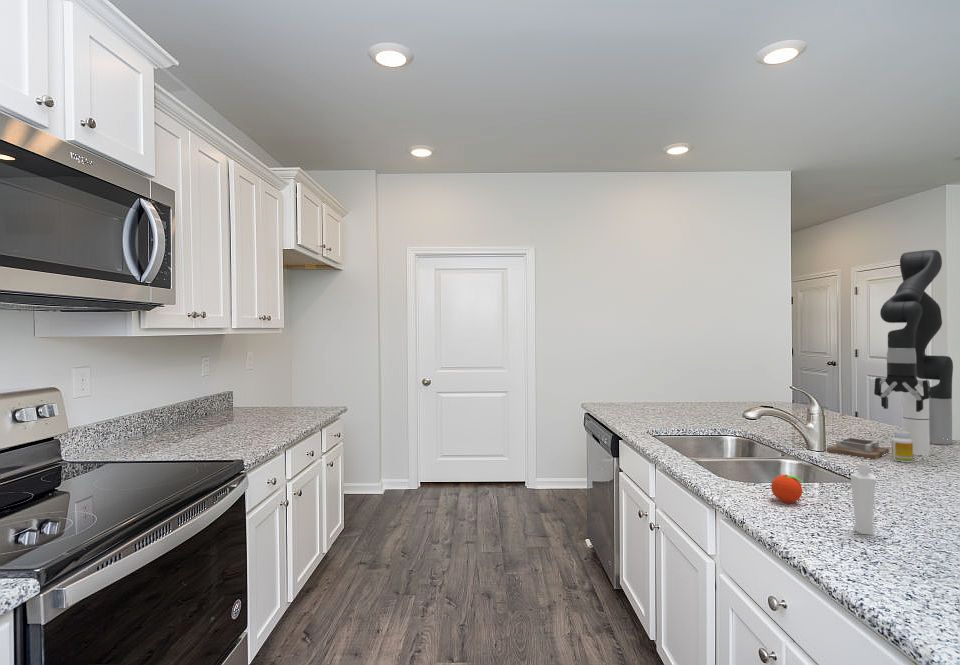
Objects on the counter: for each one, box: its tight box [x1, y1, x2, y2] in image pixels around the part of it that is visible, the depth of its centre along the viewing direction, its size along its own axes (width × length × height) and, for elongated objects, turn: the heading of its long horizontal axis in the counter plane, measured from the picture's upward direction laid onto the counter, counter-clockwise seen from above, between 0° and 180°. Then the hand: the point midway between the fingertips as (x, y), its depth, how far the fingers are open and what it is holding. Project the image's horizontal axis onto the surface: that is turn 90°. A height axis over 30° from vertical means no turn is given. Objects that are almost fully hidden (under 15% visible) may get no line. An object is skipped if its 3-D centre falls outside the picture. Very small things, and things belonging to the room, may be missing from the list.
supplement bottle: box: [891, 430, 914, 463], centre depth 167 cm, size 5×5×10 cm
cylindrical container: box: [901, 384, 931, 456], centre depth 176 cm, size 7×7×25 cm
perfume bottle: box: [850, 462, 876, 536], centre depth 111 cm, size 5×4×15 cm
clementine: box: [770, 474, 808, 504], centre depth 130 cm, size 8×7×7 cm
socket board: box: [826, 436, 890, 460], centre depth 179 cm, size 15×14×4 cm
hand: (901, 410), depth 167 cm, fingers open, 8 cm apart
